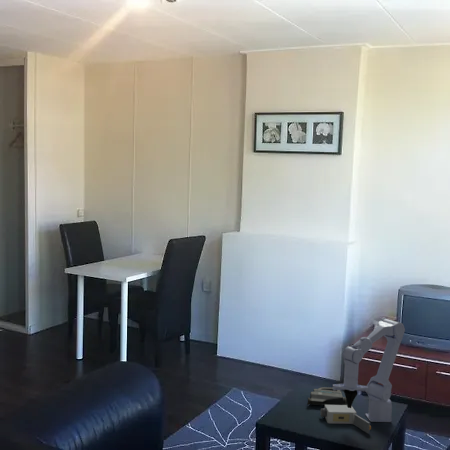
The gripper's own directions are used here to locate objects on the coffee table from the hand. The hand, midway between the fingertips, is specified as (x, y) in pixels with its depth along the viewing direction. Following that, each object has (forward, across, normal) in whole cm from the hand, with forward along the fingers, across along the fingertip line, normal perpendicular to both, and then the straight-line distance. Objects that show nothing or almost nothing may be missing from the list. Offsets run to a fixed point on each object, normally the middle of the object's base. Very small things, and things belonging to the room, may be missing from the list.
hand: (349, 407), depth 255 cm
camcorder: (+9, -5, +28) cm, 30 cm away
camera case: (+9, -2, +7) cm, 11 cm away
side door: (+8, +5, -1) cm, 10 cm away
